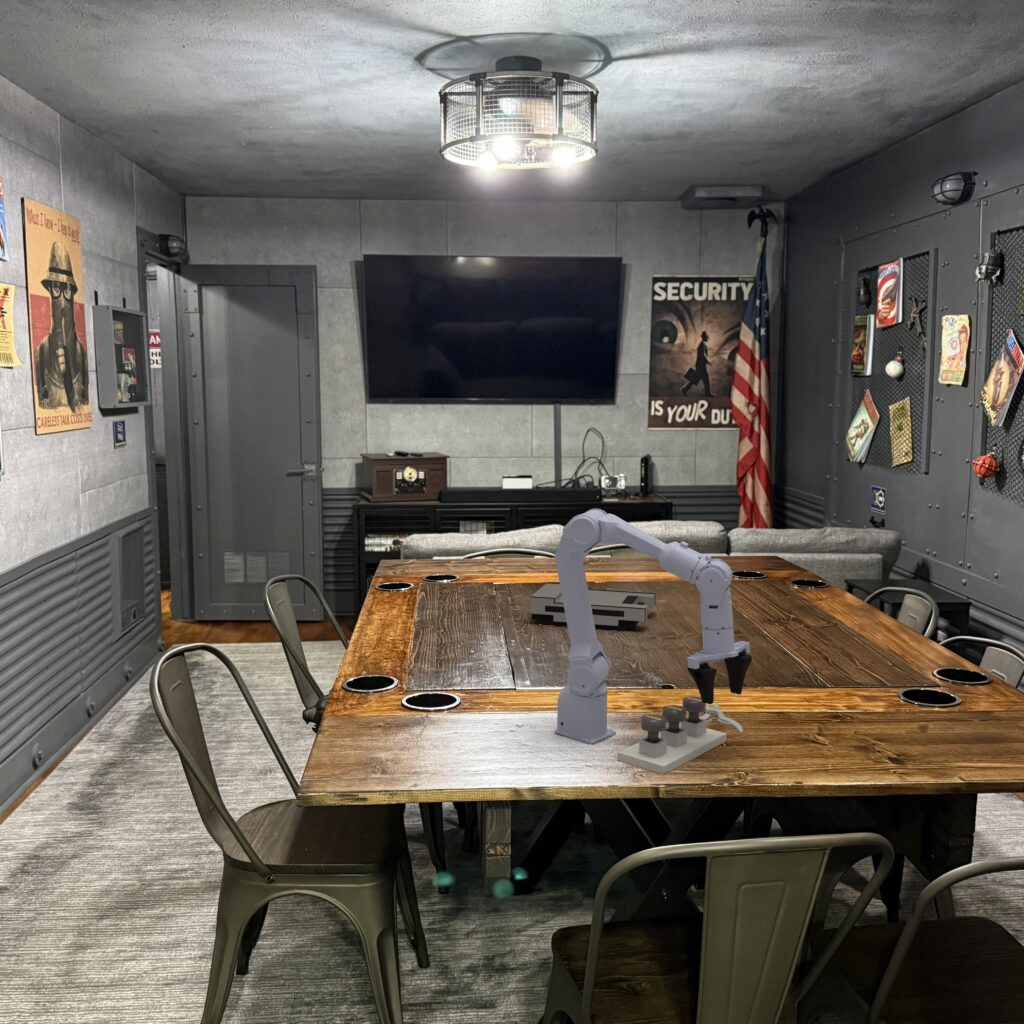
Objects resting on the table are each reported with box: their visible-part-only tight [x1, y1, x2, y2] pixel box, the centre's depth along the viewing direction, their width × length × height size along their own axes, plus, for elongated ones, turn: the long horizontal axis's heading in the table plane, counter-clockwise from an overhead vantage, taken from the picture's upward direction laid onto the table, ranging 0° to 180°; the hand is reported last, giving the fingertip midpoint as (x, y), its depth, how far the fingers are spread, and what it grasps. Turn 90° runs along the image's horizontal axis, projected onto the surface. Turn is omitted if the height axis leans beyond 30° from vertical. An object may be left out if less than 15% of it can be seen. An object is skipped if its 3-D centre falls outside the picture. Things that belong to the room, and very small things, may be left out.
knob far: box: [682, 695, 707, 723], centre depth 199 cm, size 4×4×4 cm
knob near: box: [640, 713, 667, 743], centre depth 189 cm, size 4×4×4 cm
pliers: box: [699, 702, 744, 734], centre depth 212 cm, size 10×2×15 cm
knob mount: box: [617, 716, 728, 775], centre depth 195 cm, size 10×22×4 cm, turn 139°
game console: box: [529, 581, 657, 632], centre depth 293 cm, size 21×32×8 cm, turn 74°
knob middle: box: [661, 704, 687, 732], centre depth 194 cm, size 4×4×4 cm
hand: (722, 698), depth 192 cm, fingers open, 7 cm apart
